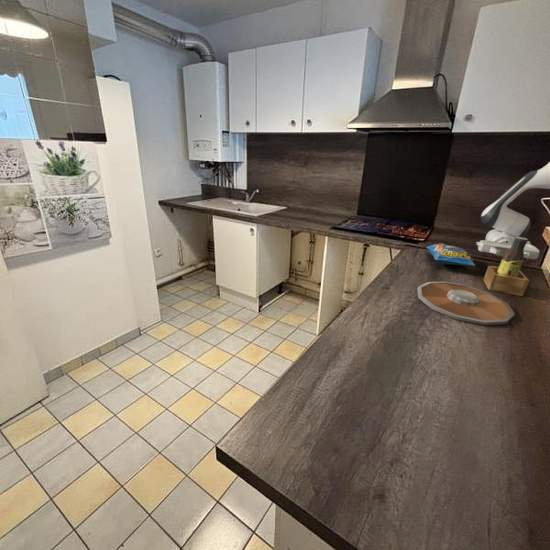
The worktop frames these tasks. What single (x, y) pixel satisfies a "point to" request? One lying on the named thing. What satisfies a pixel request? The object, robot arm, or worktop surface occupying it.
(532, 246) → the robot arm
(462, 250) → the packet
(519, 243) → the sauce bottle
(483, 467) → the worktop surface
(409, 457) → the worktop surface
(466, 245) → the worktop surface
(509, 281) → the open wooden box
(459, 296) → the shield
